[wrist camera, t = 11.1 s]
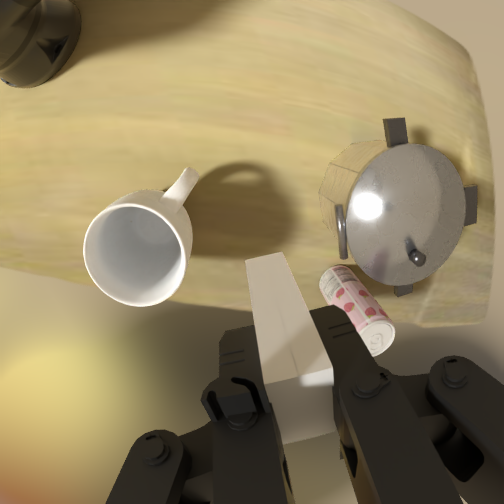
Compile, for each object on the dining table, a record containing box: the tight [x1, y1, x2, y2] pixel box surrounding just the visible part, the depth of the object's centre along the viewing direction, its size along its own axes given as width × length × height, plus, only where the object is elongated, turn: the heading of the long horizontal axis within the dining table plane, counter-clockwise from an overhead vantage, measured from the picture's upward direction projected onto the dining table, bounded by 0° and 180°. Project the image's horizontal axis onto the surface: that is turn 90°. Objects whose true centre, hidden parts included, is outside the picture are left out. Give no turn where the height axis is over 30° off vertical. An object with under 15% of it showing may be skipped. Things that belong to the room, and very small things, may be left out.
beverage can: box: [319, 265, 395, 356], centre depth 39 cm, size 6×6×15 cm
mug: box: [83, 167, 199, 307], centre depth 33 cm, size 15×11×13 cm
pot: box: [319, 118, 413, 297], centre depth 36 cm, size 22×16×10 cm
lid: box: [334, 143, 477, 286], centre depth 30 cm, size 17×20×3 cm
